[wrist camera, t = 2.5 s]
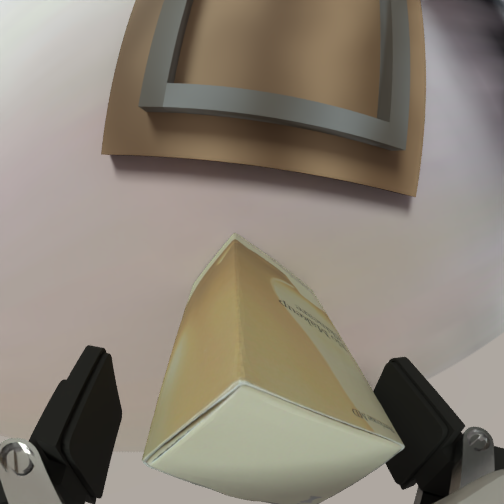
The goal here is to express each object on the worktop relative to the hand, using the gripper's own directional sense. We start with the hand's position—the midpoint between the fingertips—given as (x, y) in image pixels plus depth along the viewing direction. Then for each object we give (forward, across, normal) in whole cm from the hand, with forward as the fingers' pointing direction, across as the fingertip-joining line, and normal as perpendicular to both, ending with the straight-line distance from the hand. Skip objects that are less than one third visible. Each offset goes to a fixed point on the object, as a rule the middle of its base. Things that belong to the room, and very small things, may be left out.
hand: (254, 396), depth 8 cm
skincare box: (+9, -1, 0) cm, 9 cm away
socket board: (+9, -1, -16) cm, 18 cm away
